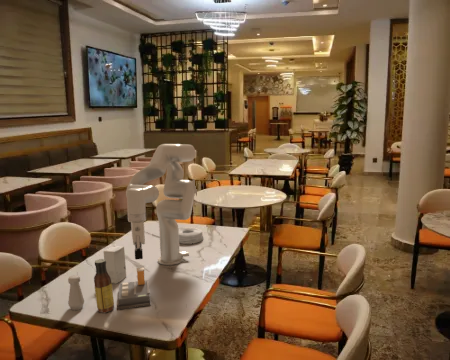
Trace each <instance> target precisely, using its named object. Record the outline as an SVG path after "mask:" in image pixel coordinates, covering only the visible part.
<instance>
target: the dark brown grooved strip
mask: <svg viewBox="0 0 450 360" xmlns="http://www.w3.org/2000/svg"><path fill="white" fill-rule="evenodd" d="M148 306H149V307H150V306H151V300H150V301H148V302H140V303H132V304H124V305H119V304H118V305H117V310H125V309H133V308H140V307H148Z"/></svg>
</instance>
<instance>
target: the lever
mask: <svg viewBox="0 0 450 360" xmlns="http://www.w3.org/2000/svg"><path fill="white" fill-rule="evenodd" d="M136 274H137V275H136V276H137V281H138V285H143V284H145V280H146V279H145V267H138V268H136Z"/></svg>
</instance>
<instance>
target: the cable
mask: <svg viewBox="0 0 450 360" xmlns="http://www.w3.org/2000/svg"><path fill="white" fill-rule="evenodd" d="M178 228H179V244H183V245H184V244H185V245H192V243H193V244H196V243H200V242H201V241H203V240H204V235H203V230H202V229H200V228H196V227H191V226H190V227H185V226H184V227H183V226H182V227H178Z"/></svg>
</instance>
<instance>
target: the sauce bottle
mask: <svg viewBox="0 0 450 360" xmlns="http://www.w3.org/2000/svg"><path fill="white" fill-rule="evenodd" d="M94 266H95V274H94V277H93V283H94V292H95V300H96V307H97V311H98V312H99V313H108V312H111V311H113V310H114V308H115V301H114V294H113V293H114V292H113V286H112V285H113V283H111V278H110V276H109V275H108V273H107V269H106V260H105V259H104V258H99V259H96V260H95V261H94Z"/></svg>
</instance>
